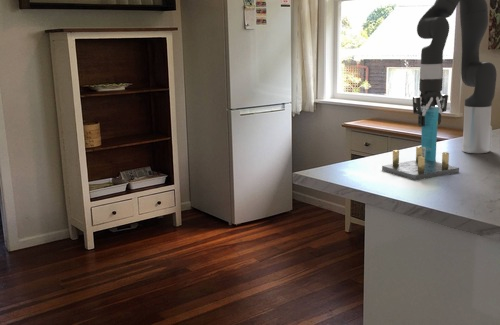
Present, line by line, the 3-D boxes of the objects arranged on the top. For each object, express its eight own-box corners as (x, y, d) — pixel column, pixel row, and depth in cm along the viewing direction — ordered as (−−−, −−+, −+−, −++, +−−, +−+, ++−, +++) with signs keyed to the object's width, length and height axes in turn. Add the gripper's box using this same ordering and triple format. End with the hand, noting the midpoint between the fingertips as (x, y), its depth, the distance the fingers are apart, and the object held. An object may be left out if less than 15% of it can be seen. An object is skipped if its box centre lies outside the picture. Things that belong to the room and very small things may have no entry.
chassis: (423, 163, 187) (424, 144, 186) (458, 172, 173) (459, 152, 172) (382, 170, 180) (382, 151, 179) (415, 180, 166) (416, 159, 164)
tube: (441, 161, 189) (443, 106, 185) (433, 163, 186) (435, 108, 182) (422, 158, 195) (424, 105, 191) (415, 160, 192) (416, 106, 188)
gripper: (439, 75, 191) (437, 122, 194) (407, 78, 185) (406, 126, 188) (455, 76, 184) (453, 124, 188) (422, 79, 178) (421, 128, 182)
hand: (429, 125), depth 188 cm, fingers open, 6 cm apart
